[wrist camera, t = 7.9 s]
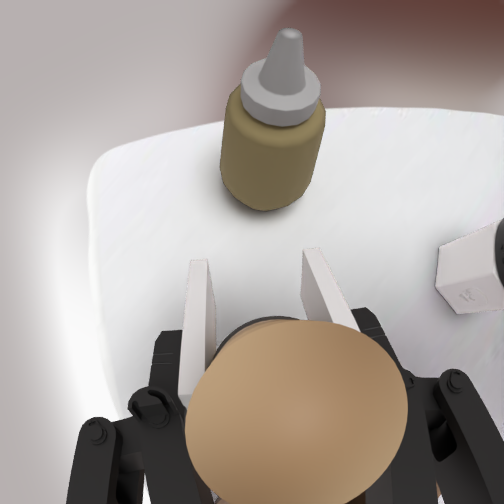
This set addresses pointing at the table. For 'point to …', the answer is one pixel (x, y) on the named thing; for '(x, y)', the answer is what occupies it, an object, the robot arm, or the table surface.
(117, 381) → the table surface
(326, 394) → the oak peg
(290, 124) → the squeeze bottle
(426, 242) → the table surface
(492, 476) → the robot arm
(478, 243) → the jar
